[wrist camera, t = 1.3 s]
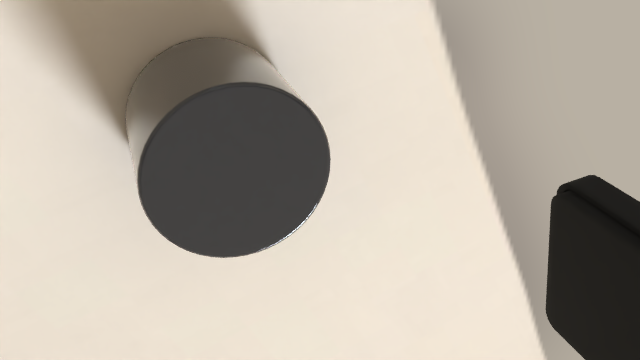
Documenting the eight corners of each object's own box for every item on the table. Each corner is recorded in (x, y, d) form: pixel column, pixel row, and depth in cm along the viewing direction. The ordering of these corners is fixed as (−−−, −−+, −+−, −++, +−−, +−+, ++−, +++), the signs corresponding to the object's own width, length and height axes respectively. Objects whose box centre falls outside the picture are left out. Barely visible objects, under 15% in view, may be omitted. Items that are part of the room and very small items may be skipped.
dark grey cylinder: (102, 60, 15) (108, 115, 12) (272, 19, 16) (317, 59, 13) (152, 207, 17) (169, 283, 14) (298, 163, 18) (342, 225, 15)
